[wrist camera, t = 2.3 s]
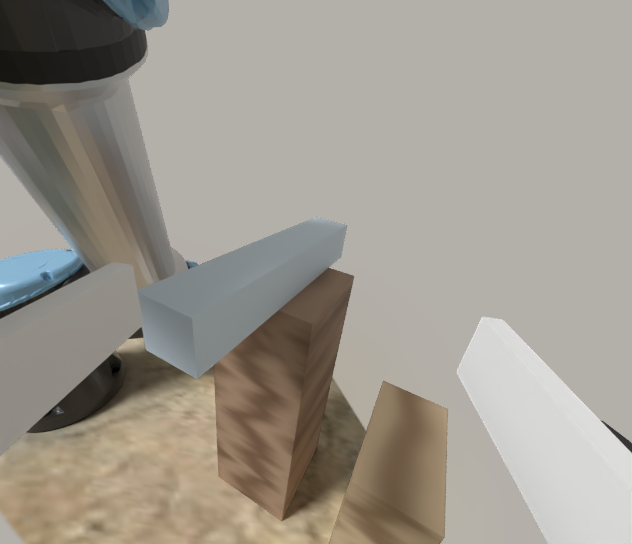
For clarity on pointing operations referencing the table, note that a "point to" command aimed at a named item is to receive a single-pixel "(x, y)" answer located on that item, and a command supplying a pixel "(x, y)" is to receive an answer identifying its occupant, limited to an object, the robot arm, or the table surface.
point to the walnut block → (279, 393)
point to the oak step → (397, 475)
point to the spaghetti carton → (233, 294)
